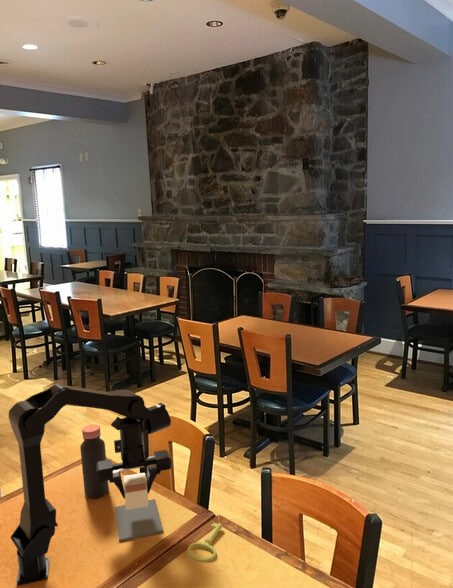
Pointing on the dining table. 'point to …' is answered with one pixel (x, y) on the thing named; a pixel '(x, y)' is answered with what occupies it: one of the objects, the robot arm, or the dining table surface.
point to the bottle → (92, 461)
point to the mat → (138, 521)
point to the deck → (135, 491)
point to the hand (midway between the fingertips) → (136, 495)
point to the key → (206, 545)
